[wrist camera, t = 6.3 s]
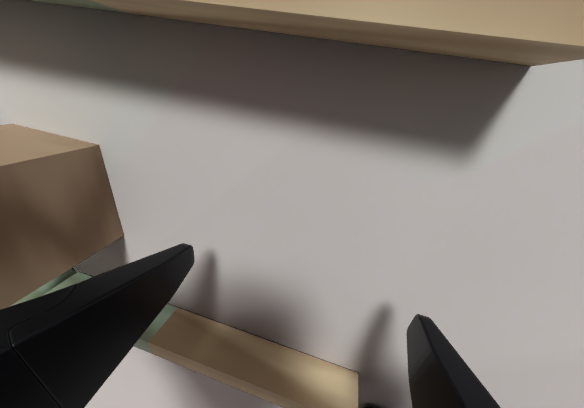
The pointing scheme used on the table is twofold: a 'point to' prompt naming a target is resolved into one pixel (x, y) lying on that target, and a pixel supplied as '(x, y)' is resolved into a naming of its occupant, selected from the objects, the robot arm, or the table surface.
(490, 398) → the robot arm
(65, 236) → the block
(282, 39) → the table surface
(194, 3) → the lane walls
